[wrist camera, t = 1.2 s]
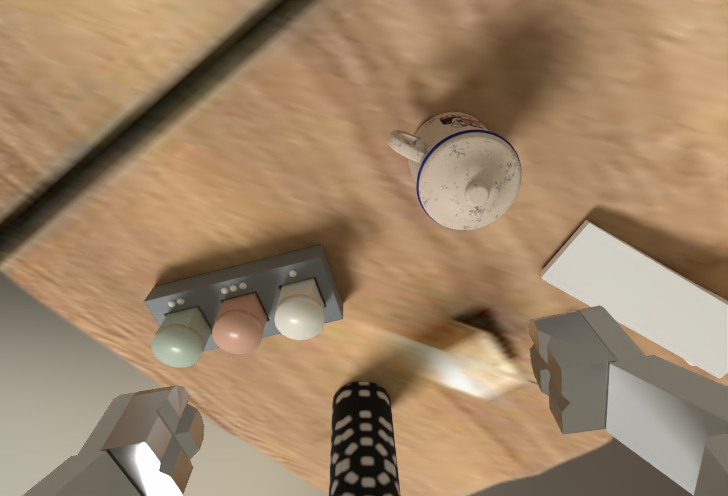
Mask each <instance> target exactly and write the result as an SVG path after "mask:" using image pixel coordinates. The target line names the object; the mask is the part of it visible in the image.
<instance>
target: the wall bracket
mask: <svg viewBox="0 0 728 496" xmlns="http://www.w3.org/2000/svg"><path fill="white" fill-rule="evenodd" d="M539 276H540V278H541V279H543V280H545V281H546V282H548V283H550V284H552V285H553V286H555V287H557V288H559V289H561V290H562V291H564V292H566V293H568V294H569V295H571V296H573V297H575V298H577V299H578V300H580V301H582V302H584V303H586V304H587V305H589V306H591V307H594V306H599V305H600V306H602V307H604V308H605V309H606V310H607V311H608V312H609V314H610V315H611V316H612V317H613V318H614V319H615V320H616V321H618V322H619V323H621V324H623V325H625V326H626V327H628V328H630V329H632V330H634V331H635V332H637V333H639V334H641V335H642V336H644V337H646V338H648V339H650V340H651V341H653V342H655V343H657V344H659V345H660V346H662V347H664V348H666V349H667V350H669V351H671V352H673V353H675V354H676V355H678V356H680V357H682V358H683V359H684V360H685V361H686V362H687V363H689V364H690V365H692V366H698V367H699V368H701V369H703V370H705V371H707V372H708V373H710V374H712V375H714V376H715V377H717V378H719V379H720V378H721V377H723V376H724V375H725V374H727V373H728V300H726V299H724V298H722V297H720V296H718V295H716V294H714V293H713V292H711V291H709V290H707V289H705V288H703V287H701V286H699V285H698V284H696V283H694V282H692V281H690V280H689V279H687V278H685V277H683V276H682V275H680V274H678V273H676V272H675V271H673V270H671V269H670V268H668V267H666V266H664V265H663V264H661V263H659V262H658V261H656V260H654V259H653V258H651V257H649V256H648V255H646V254H644V253H642V252H641V251H639V250H637V249H636V248H634V247H632V246H631V245H629V244H627V243H626V242H624V241H622V240H620V239H619V238H617V237H615V236H613V235H612V234H610V233H608V232H606V231H605V230H603V229H601V228H599V227H598V226H596V225H594V224H593V223H591V222H589V221H588V220H585V222H584V223H583V224H582V225H581V226H580V227H579V229H578V230H577V231H576V232H575V233H574V234H573V235H572V237H571V238H570V239H569V240H568V241H567V242H566V244H565V245H564V246H563V247H562V248H561V249H560V250H559V252H558V253H557V254H556V255H555V256H554V257H553V258H552V260H551V261H550V262H549V263H548V264H547V265H546V267H545V268H544V269H543V270H542V271H541V272H540V273H539Z"/></svg>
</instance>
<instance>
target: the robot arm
mask: <svg viewBox="0 0 728 496" xmlns="http://www.w3.org/2000/svg"><path fill="white" fill-rule="evenodd" d="M528 328H529V335H530V337H531V339H532V341H533V343H534V344H533V346H532V347H531V348H530V357H531V363H532V368H533V372H534V375H535V378H536V380H537V383H538V385H539V387H540V389H541V391H542V392H543V393H545V394H546V395H548V396H549V405H550V410H551V412H552V414H553V416H554V418H555V420H556V422H557V424H558V426H559V428H560V430H561V432H562V434H570V433H578V432H586V431H593V430H601V429H606V431H607V432H608V433H610V434H611V435H612V436H614V437H615V438H616V439H618V440H619V441H620V442H622V443H623V444H624V445H626V446H627V447H629V448H630V449H631V450H633V451H634V452H635V453H637V454H638V455H639V456H641V457H642V458H643V459H645V460H646V461H648V462H649V463H650V464H652V465H653V466H654V467H656V468H657V469H658V470H660V471H661V472H662V473H664V474H665V475H667V476H668V477H669V478H671V479H672V480H673V481H675V482H676V483H678V484H679V485H680V486H682V487H683V488H685V489H686V490H687V491H688V492H690V493H691V494H692V495H694V496H728V387H727V386H724V385H722V384H720V383H718V382H715V381H713V380H711V379H708V378H706V377H704V376H701V375H699V374H697V373H694V372H692V371H690V370H687V369H685V368H683V367H680V366H678V365H676V364H674V363H671V362H669V361H667V360H664V359H662V358H660V357H657V356H655V355H651V356H646V355H645V354H644V353H643V352H642V351H641V350H640V348H639V347H638V346H637V345H636V344H635V343H634V341H633V340H632V339H631V338H630V337H629V336H628V334H627V333H626V332H625V331H624V330H623V329H622V327H621V326H620V325H619V324H618V323H617V322H616V321H615V319H614V318H613V317H612V316H611V315H610V314H609V312H608V311H607V310H606V309H605V308H604V307H602V306H600V305H599V306H594V307H590V308H585V309H580V310H576V311H572V312H567V313H562V314H557V315H551V316H546V317H541V318H536V319H531V320H529V324H528ZM189 397H190V396H189V394H188V393H187V391H186V390H185V388H184V387H183V386H178V385H176V386H170V387H164V388H158V389H152V390H145V391H140V392H136V393H129V394H124V395H119V396H118V397H116V398H115V399H113V401H112V402H111V404H110V406H109V407H108V409H107V410H106V412H105V413H104V415H103V416H102V418H101V419H100V421H99V422H98V424H97V426H96V427H95V429H94V430H93V432H92V433H91V435H90V437H89V438H88V440H87V441H86V443H85V444H84V446H83V447H82V449H81V450H80V452H79V453H78V455H76V456H71V457H70V458H68V459H67V460H66V461H65V462H64V463H62V464H61V465H60V466H58V467H57V468H56V469H55V470H54V471H53V472H51V473H50V474H49V475H47V476H46V477H45V478H44V479H42V480H41V481H40V482H39V483H38V484H36V485H35V486H34V487H32V488H31V489H30V490H29V491H27V492H26V493H25V494H24V495H23V496H181V495H183V493H184V491H185V488H186V485H187V483H188V480H189V477H190V474H191V472H192V469H193V466H192V463H191V461H190V459H191V458H192V457H193V456H194V455H195V454H196V453H197V452H198V451H199V450H200V447H201V444H202V441H203V436H204V424H203V420H202V416H201V414H200V413H199V411H198V409H196V408H194V407H193V406H191V405H189V404H188V400H189Z"/></svg>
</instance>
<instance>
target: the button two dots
mask: <svg viewBox="0 0 728 496" xmlns="http://www.w3.org/2000/svg"><path fill="white" fill-rule="evenodd" d="M211 332H212V328H211V326H210V325H209V323H208V321H207V319H206V318H205V316H204V314H203V312H202V311H201V309H200V307H199V305H198V306H194V307H190V308H186V309H182V310H177V311H173V312H169V313H168V314H167V316H166V317H165V319H164V321H163V323H162V324H161V326H160V328H159V329H158V331H157V333H156V334H155V338H154V339H153V341H152V351H153V353H154V355H155V356H156V358H157V359H158V360H160V361H161V362H163V363H164V364H166V365H169V366H172V367H188V366H191V365H193V364H195V363H196V362H197V361H198V360H199V358H200V356H201V354H202V353H203V351H204V348H205V346H206V344H207V341H208V339H209V337H210V334H211Z"/></svg>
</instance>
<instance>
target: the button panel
mask: <svg viewBox="0 0 728 496" xmlns="http://www.w3.org/2000/svg"><path fill="white" fill-rule="evenodd" d="M312 277H315V278H316V280H317V283H318V285H319V288H320V291H321V293H322V294H321V296H322V299H323V301H324V313H325V314H324V323H328V322H332V321H337V320H341V319H343V302H342V299H341V296H340V294H339V291H338V288H337V285H336V283H335V280H334V277H333V274H332V272H331V269H330V266H329V263H328V260H327V258H326V255H325V252H324V249H323V247H322V244H321V245H317V246H313V247H309V248H305V249H301V250H297V251H293V252H289V253H285V254H281V255H277V256H273V257H270V258H266V259H262V260H258V261H254V262H250V263H246V264H242V265H238V266H234V267H230V268H226V269H222V270H218V271H214V272H210V273H206V274H202V275H199V276H195V277H191V278H187V279H183V280H179V281H175V282H171V283H167V284H163V285H159V286H155V287H154V288H153V289H152V290H151V292H150V293H149V295H148V296H147V298H146V299H145V300H144V303H145V305H146V306H147V308H148V309H149V311H150V312H151V314H152V315H153V317H154V319H155V320H156V322H157V323H158V325H159V326H161V324H162V323H163V321H164V319H165V317H166V316H167V314H168V313H169V312H173V311H177V310H182V309H186V308H190V307H194V306H198V305H199V307H200V308H201V310H202V312H203V314H204V315H205V317H206V319H207V321H208V323H209V325H210V326H211V328H212V330H213V327H214V325H215V322H216V321H215V320H216V318H217V315H218V313H219V311H220V308H221V306H222V304H223V301H224V299H226V298H230V297H234V296H238V295H242V294H247V293H251V292H255V291H256V292H257V294H258V296H259V298H260V300H261V302H262V305H263V307H264V310H265V312H266V314H267V321H266V325H265V328H264V332H263V336H262V338H264V337H268V336H273V335H277V334H281V333H280V332H279V330H278V329H277V327H276V325H275V320H274V319H275V313H276V309H277V305H278V300H279V296H280V292H281V288H282V285H284V284H287V283H291V282H295V281H299V280H303V279H307V278H312ZM217 348H220V347H219V346H218V345H217V344H216V343H215V341H214V339H213V336H212V332H211V334H210V337H209V339H208V341H207V344H206V346H205V348H204V351H209V350H213V349H217ZM204 351H203V352H204Z"/></svg>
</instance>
